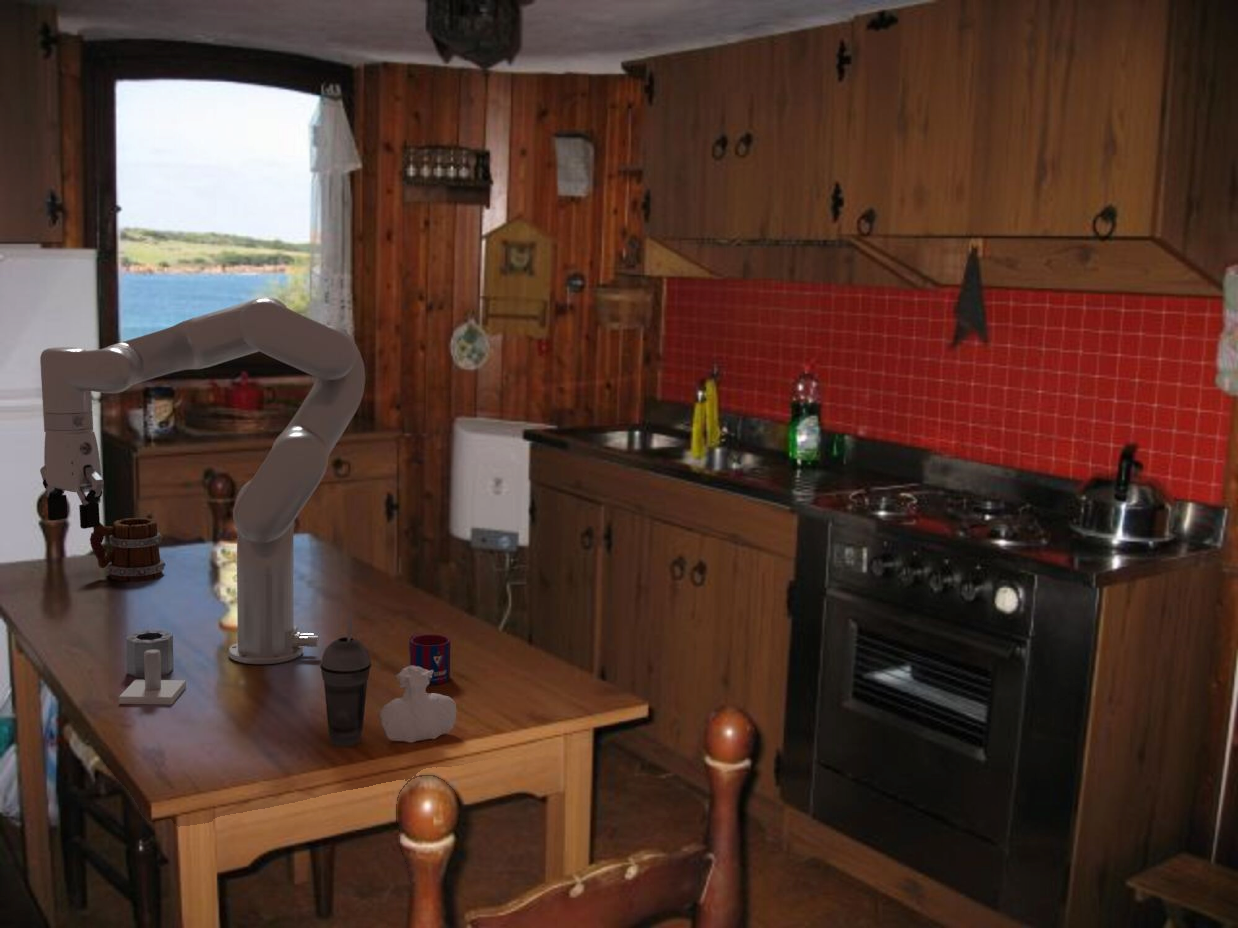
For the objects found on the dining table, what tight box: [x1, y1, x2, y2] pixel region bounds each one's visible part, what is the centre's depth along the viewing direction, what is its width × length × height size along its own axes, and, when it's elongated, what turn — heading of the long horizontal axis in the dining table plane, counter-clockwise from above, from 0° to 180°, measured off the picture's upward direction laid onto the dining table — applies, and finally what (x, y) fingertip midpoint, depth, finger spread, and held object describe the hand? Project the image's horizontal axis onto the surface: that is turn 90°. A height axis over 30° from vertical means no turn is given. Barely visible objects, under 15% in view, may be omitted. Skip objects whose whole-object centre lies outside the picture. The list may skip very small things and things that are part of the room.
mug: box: [89, 517, 166, 582], centre depth 275 cm, size 12×14×15 cm
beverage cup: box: [319, 609, 372, 748], centre depth 187 cm, size 7×7×20 cm
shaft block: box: [118, 650, 187, 706], centre depth 204 cm, size 8×8×7 cm
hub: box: [125, 629, 175, 678], centre depth 216 cm, size 7×7×6 cm
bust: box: [378, 664, 457, 744], centre depth 192 cm, size 12×8×11 cm
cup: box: [408, 633, 452, 686], centre depth 218 cm, size 7×10×7 cm
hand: (73, 523), depth 216 cm, fingers open, 9 cm apart
